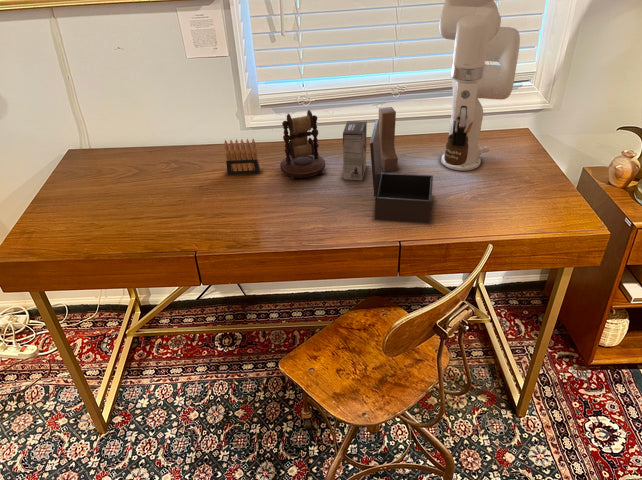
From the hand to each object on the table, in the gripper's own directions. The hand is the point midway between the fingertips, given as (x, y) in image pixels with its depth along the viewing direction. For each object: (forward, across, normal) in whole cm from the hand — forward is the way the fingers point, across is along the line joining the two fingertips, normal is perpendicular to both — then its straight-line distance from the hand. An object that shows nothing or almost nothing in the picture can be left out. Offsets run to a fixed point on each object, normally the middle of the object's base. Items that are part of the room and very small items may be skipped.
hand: (458, 139), depth 144 cm
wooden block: (+22, +25, +20) cm, 39 cm away
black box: (+22, 0, +13) cm, 26 cm away
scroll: (+22, +18, +47) cm, 55 cm away
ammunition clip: (+22, +14, +67) cm, 72 cm away
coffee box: (+22, +18, +30) cm, 42 cm away
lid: (+6, 0, +21) cm, 22 cm away
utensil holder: (+6, 0, 0) cm, 6 cm away
